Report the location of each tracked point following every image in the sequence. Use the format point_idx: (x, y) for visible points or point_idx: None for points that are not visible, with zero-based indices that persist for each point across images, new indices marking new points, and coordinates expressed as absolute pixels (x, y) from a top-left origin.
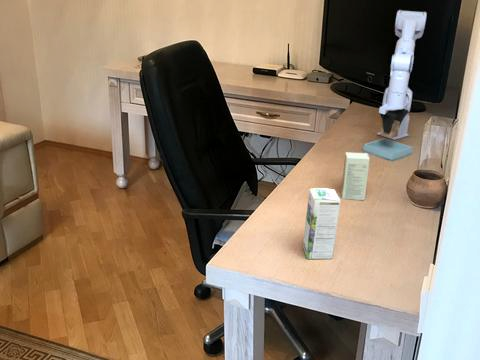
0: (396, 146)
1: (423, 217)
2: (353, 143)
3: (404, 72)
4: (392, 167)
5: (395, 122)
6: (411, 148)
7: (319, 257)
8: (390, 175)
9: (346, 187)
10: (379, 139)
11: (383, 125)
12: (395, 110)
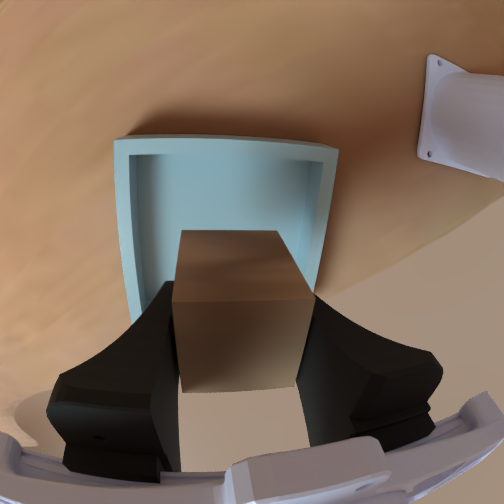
0: (303, 238)
1: (13, 435)
2: (197, 22)
3: None
4: (94, 333)
5: (239, 385)
6: None
7: None
8: (45, 355)
9: None
10: (285, 146)
11: (148, 311)
12: (348, 420)
